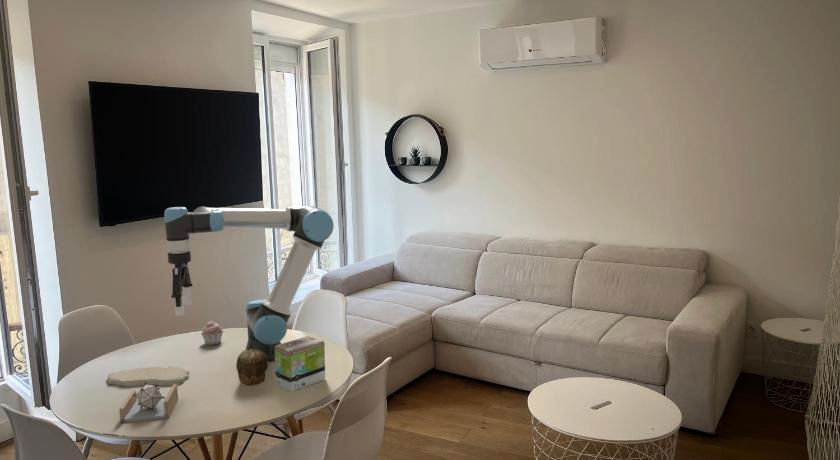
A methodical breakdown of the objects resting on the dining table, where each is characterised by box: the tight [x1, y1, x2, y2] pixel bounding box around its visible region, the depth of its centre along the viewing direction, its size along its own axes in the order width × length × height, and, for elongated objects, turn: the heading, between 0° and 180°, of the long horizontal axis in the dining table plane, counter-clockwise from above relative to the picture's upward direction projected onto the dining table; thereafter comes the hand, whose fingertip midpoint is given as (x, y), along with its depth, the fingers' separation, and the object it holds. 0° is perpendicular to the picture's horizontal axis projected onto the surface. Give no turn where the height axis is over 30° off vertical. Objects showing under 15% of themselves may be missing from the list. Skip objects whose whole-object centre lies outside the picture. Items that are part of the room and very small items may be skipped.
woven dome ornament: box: [235, 349, 269, 386], centre depth 224 cm, size 11×11×12 cm
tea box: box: [274, 335, 326, 393], centre depth 222 cm, size 15×10×15 cm
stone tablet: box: [107, 366, 190, 387], centre depth 231 cm, size 16×30×2 cm, turn 90°
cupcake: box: [200, 320, 225, 346], centre depth 267 cm, size 9×9×10 cm
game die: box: [133, 382, 166, 411], centre depth 202 cm, size 9×8×10 cm
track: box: [118, 384, 179, 423], centre depth 203 cm, size 14×14×6 cm
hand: (183, 309), depth 223 cm, fingers open, 13 cm apart
